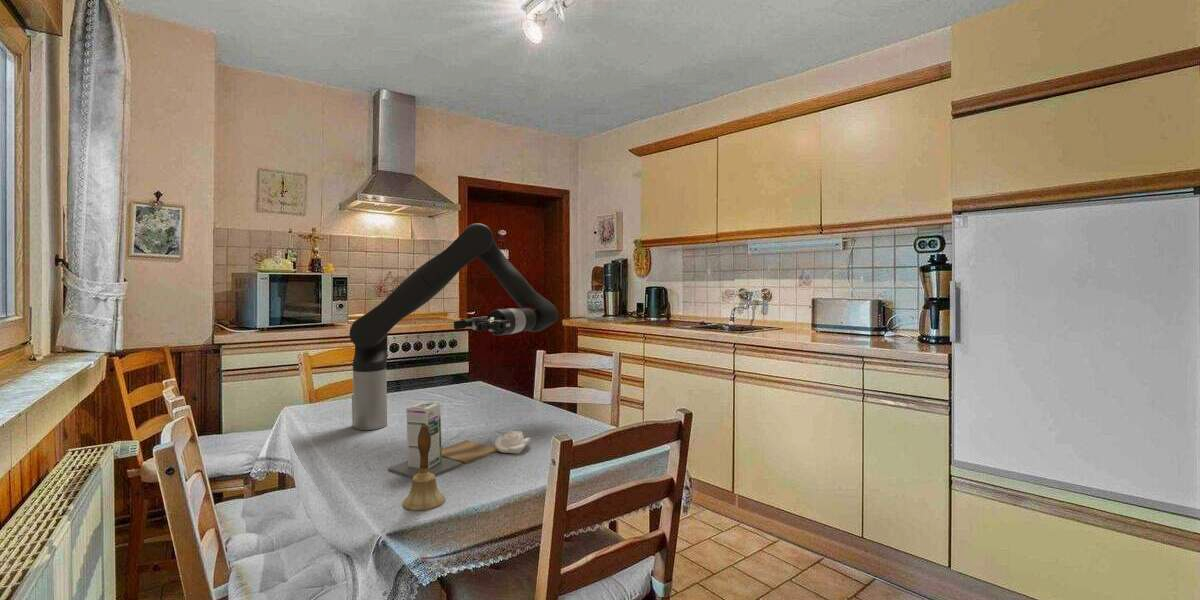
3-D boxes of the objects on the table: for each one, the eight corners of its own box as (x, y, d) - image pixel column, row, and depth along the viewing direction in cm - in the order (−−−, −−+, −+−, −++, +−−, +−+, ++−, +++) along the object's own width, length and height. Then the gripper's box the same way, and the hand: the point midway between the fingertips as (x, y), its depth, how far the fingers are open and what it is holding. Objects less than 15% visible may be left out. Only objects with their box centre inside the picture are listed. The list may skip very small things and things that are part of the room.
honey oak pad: (431, 454, 141) (431, 452, 141) (466, 442, 151) (466, 440, 151) (465, 464, 135) (465, 461, 135) (499, 450, 145) (499, 448, 145)
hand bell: (433, 490, 119) (432, 417, 118) (452, 502, 113) (451, 425, 112) (395, 501, 113) (394, 424, 112) (413, 515, 107) (412, 434, 106)
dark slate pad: (387, 470, 130) (387, 467, 130) (428, 455, 140) (428, 453, 140) (422, 481, 124) (422, 478, 124) (462, 465, 134) (462, 462, 134)
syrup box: (428, 470, 129) (427, 408, 128) (406, 467, 131) (405, 406, 130) (442, 461, 135) (441, 402, 134) (421, 459, 136) (420, 401, 135)
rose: (538, 435, 144) (503, 439, 139) (537, 452, 144) (502, 456, 139) (523, 424, 153) (490, 426, 148) (522, 439, 153) (488, 442, 148)
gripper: (488, 307, 165) (447, 311, 152) (525, 309, 158) (485, 313, 144) (489, 332, 166) (447, 338, 152) (525, 336, 158) (485, 342, 144)
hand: (465, 326), depth 148 cm, fingers open, 8 cm apart
